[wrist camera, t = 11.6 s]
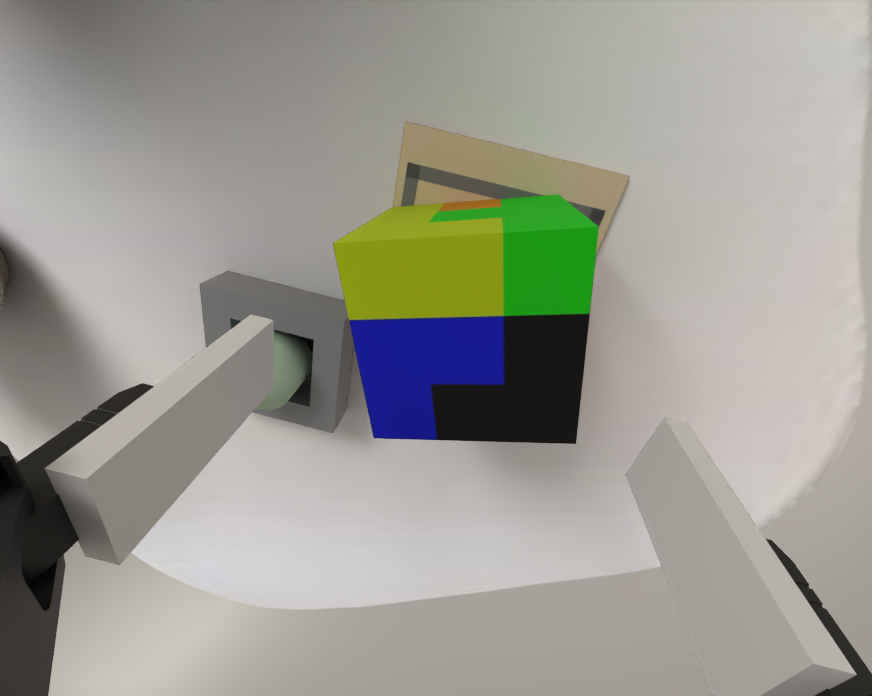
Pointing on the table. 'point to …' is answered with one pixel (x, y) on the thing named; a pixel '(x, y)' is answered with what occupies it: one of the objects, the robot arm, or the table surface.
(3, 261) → the planter
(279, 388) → the button
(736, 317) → the table surface
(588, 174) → the sheet
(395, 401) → the puzzle toy
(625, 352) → the table surface
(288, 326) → the button box
